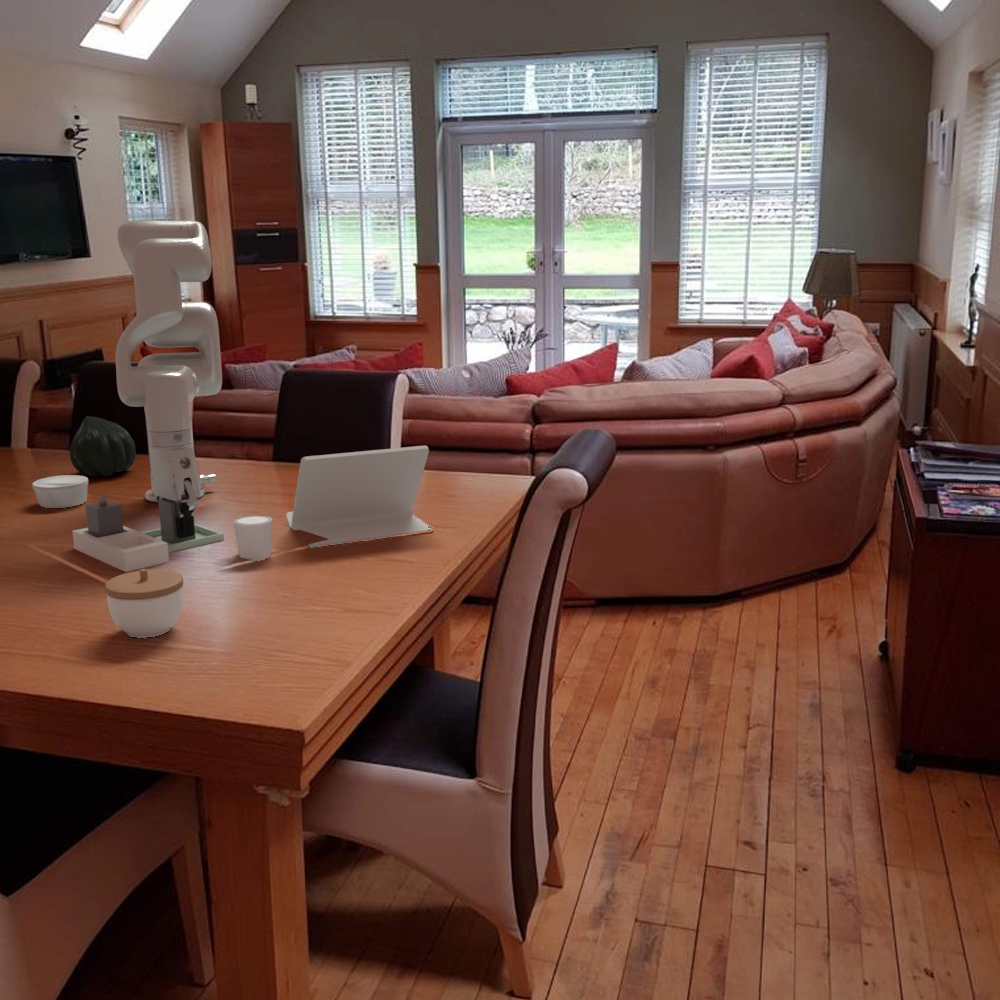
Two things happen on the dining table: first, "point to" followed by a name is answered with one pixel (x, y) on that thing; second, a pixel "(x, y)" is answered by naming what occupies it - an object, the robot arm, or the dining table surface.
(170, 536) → the plug
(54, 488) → the ramekin
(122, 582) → the lidded jar
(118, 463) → the squash
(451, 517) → the dining table surface
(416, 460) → the tablet stand
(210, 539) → the tray
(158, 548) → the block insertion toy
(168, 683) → the dining table surface
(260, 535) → the white cup
